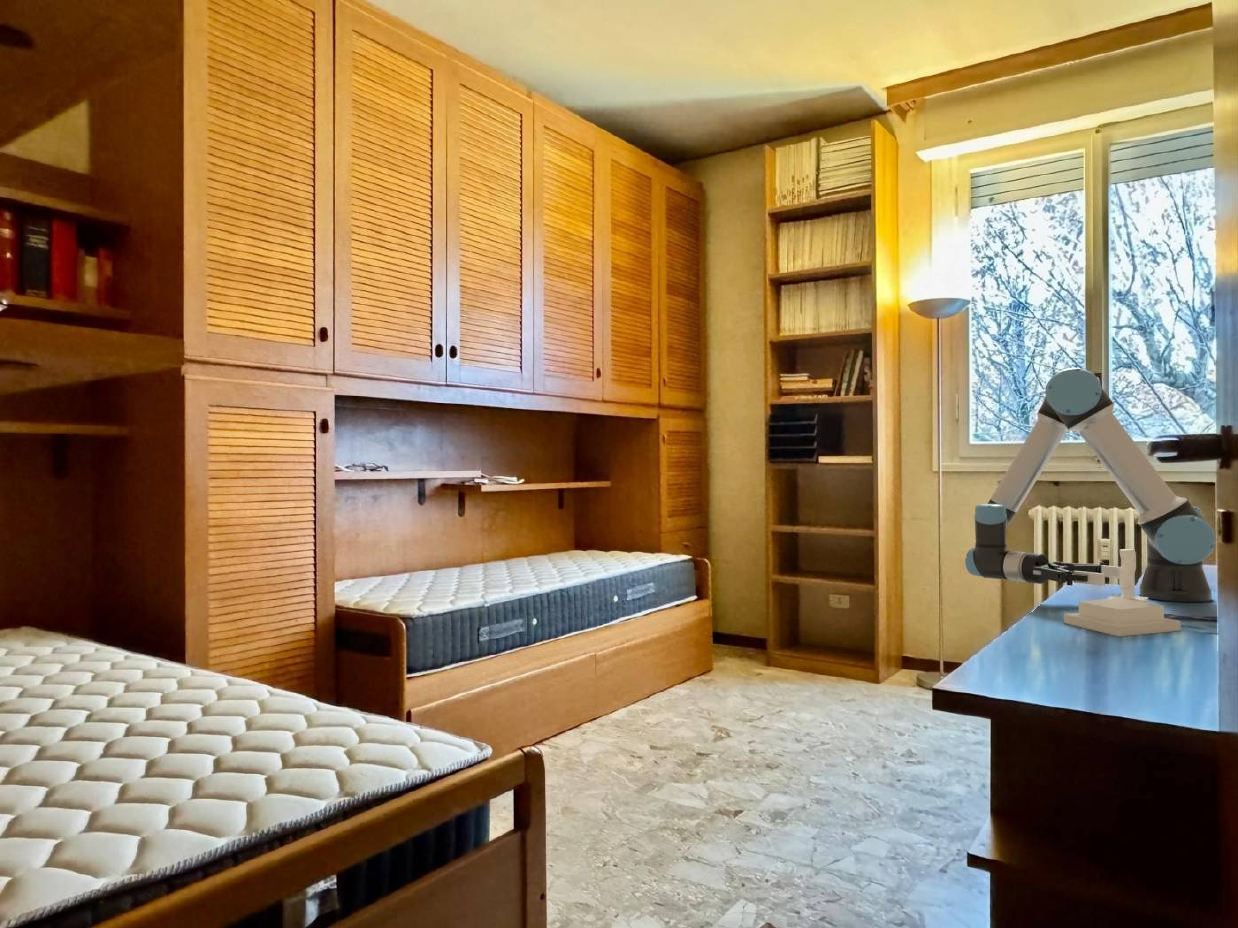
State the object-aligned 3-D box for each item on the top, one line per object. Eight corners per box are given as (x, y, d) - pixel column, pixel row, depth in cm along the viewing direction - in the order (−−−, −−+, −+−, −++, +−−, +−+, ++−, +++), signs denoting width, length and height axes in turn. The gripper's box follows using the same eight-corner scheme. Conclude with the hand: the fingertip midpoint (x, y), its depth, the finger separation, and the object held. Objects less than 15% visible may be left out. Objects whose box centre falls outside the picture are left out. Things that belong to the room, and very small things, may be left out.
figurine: (1106, 615, 184) (1105, 550, 184) (1113, 608, 191) (1112, 546, 191) (1144, 618, 179) (1143, 551, 179) (1149, 612, 187) (1148, 547, 186)
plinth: (1122, 617, 181) (1121, 595, 181) (1180, 630, 168) (1180, 606, 167) (1064, 622, 177) (1063, 600, 177) (1119, 636, 163) (1118, 611, 163)
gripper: (1052, 577, 211) (1142, 586, 194) (1000, 587, 197) (1092, 599, 179) (1052, 548, 211) (1141, 555, 194) (1000, 557, 197) (1091, 565, 179)
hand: (1118, 576), depth 186 cm, fingers open, 13 cm apart
